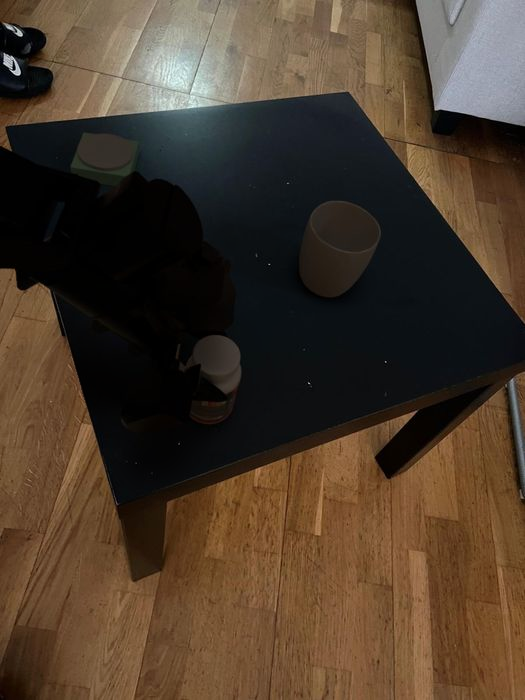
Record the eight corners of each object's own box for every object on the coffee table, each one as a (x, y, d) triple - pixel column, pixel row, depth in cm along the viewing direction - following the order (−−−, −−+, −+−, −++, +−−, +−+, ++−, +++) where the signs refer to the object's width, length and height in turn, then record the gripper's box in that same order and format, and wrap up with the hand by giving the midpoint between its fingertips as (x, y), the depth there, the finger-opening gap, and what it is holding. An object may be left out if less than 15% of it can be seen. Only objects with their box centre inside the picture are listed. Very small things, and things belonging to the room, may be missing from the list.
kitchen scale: (70, 179, 76) (68, 163, 73) (83, 144, 80) (81, 128, 78) (129, 189, 77) (128, 173, 74) (139, 154, 81) (138, 137, 79)
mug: (344, 315, 70) (369, 264, 62) (282, 287, 71) (298, 233, 63) (371, 255, 78) (397, 201, 69) (314, 230, 78) (333, 174, 70)
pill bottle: (237, 423, 59) (250, 378, 51) (185, 428, 58) (191, 383, 50) (228, 378, 62) (240, 328, 54) (179, 382, 61) (183, 332, 53)
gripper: (161, 354, 35) (290, 443, 46) (197, 172, 46) (296, 278, 56) (56, 395, 41) (192, 466, 51) (110, 225, 51) (214, 312, 62)
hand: (227, 374), depth 55 cm, fingers closed on pill bottle, 6 cm apart
